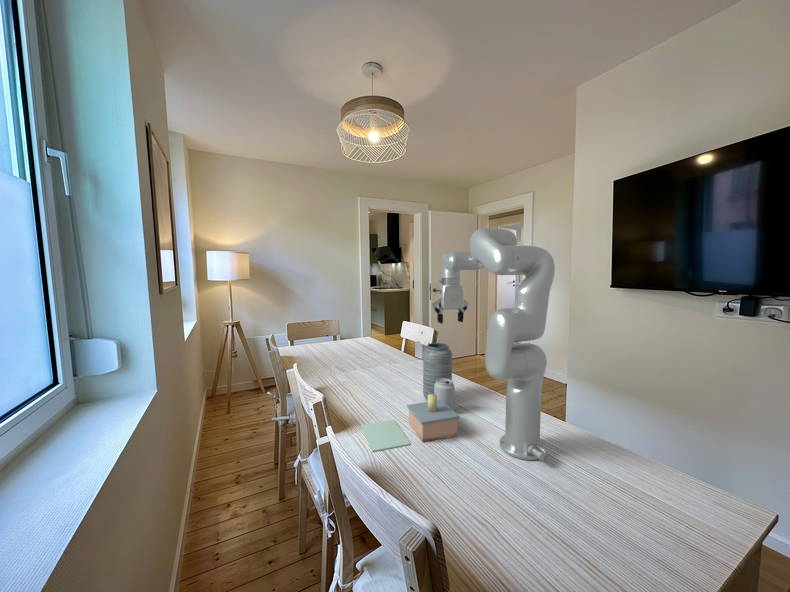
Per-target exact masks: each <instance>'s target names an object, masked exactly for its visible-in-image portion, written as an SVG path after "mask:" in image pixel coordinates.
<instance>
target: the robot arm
mask: <svg viewBox="0 0 790 592" xmlns="http://www.w3.org/2000/svg"><path fill="white" fill-rule="evenodd" d="M469 249H470V251H469V250H468V251H466V250H464V251H463V250H459V251H457V250H454V251H453V250H452V251H450V252H446V253H443V254H442V257H441V264H442V265H441V279H439V281H438V282H439V284H441V285H440V287H439V293H438V299H437V300H435V301H433V302H432V303H431V306H432V309H433V311H434V312H435V313H436V314H437V315H436V316H437V317H436V319H437V323H439V324H441V325H442V324H443V323H444V314H443V312H444V311H446V310H449V311H450V310H457V311H458V312H457V322H460V323H463V322H464V314H465V312H466V311H467V309H468V306H469V305H470V302H469V301H467V300H465V298H464V291H463V285H461V271H477V270H481V269H484V268H486V269H487V270H488V271H489V272H490V273H491V274H494V275H497V276H525V278H523V280H522V281H521V282H520V284H519V285H518V287H517V289H516V292H515V301H514V305H513V307H510V308H509V307H508V308H500V309H496V311H494V312H493V313H492V314H491V316H490V317H489V319H488V322H487V323H488V324H487V328H486V329H487V332H486V339H485V340H486V342H485V349H484V350H485V351H484V366H485V370H486V372H487V374H488V376H490V377H491V378H492V379H494V380H496V381H504V380H508V383H507V385H506V390H505V391H506V395H505V431H504V434H503V435H502V436H501V437H500V438H499V446H500V448H501V449H502V451H504V452H505V453H506V454H508V455H510V456H511V457H514V458H517V459H520V460H526V461H534V460H535V461H536V460H540V461H541V462H542V461H544V460H545V458H546V456H549V455H548V454H549V451H548V450H547V449H546V446H545V445H544V443H543V439H541V438H540V437H541V416H542V415H541V413H542V411H541V410H542V409H541V408H542V392H543V391H542V390H543V382H544V381H543V380H544V378H545V373H546V369H547V364H548V362H547V355H546V354H545V351H544V350H543V349H542V348H541V347H540V346H539V345H537V344H534V343H532V342H531V343H530V341H535V340H536V341H537V340H539V339H541V338H542V337H543V335H544V333H545V331H546V324H547V316H548V309H549V301H550V293H551V290H552V286H553V282H554V278H555V272H556V266H555V260H554V258H553V256H552V255H551V253H550V252H549V251H547V250H546V249H544V248H543V247H539V246H534V245H533V246H532V245H518V239H517V236H516V234H515V233H514V232H513V231H511V230H509V229H507V228H506V229H505V228H490V227H488V228H487V227H481V228H478V229H476V230H474V231H473V233H472V235H471V236H470V239H469Z"/></svg>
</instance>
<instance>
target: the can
mask: <svg viewBox="0 0 790 592" xmlns="http://www.w3.org/2000/svg"><path fill="white" fill-rule="evenodd" d="M434 394H436V395H437V400H442V401H443V402H444V403H445V404H446V405H448V406H449V407H450V408H451V409H452V410H453V411H454V412H455V383H454V382H453V379H452V380H450V379H446V378H440V379H437V380H436V383H435V384H434Z"/></svg>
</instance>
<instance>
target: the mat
mask: <svg viewBox="0 0 790 592" xmlns="http://www.w3.org/2000/svg"><path fill="white" fill-rule="evenodd" d="M360 426H361V428H362V429H361V430H362V431H363V433H364V436H365V438H366V441H367V443H368V445H369V448H370V450H371V452H372V453H374V452H380V451H385V450H391V449H394V448H402V447H406V446H410V445H411V444H412V443H410V441H409V439H408V438H407V436H406V435H405V433H404V432H403V430H402V429H401V427H400V426H399V424H398V423H397V421H396V420H395V419H391V420H390V419H389V420H385V421H377V422H371V423H364V424H361V425H360Z"/></svg>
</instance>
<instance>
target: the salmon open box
mask: <svg viewBox="0 0 790 592" xmlns="http://www.w3.org/2000/svg"><path fill="white" fill-rule="evenodd" d="M408 425H409V426H410V428H411V427H412V428H411V429H412V431H413V432H414V431H415V432H414V433H415V435H416V436H417V437H418V438H419V440H420V441H421V443H427V442H433V441H437V440H438V441H439V440H442V439H443V440H444V439H449V438H455V437H458V419H454V420H448V421H442V422H436V423H430V424H424V425H421V423H420V422H419V421H418V420H417V418H416V417H415V416H414V415H413V414H412V412H411V411H410V410H409V409H408Z"/></svg>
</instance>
